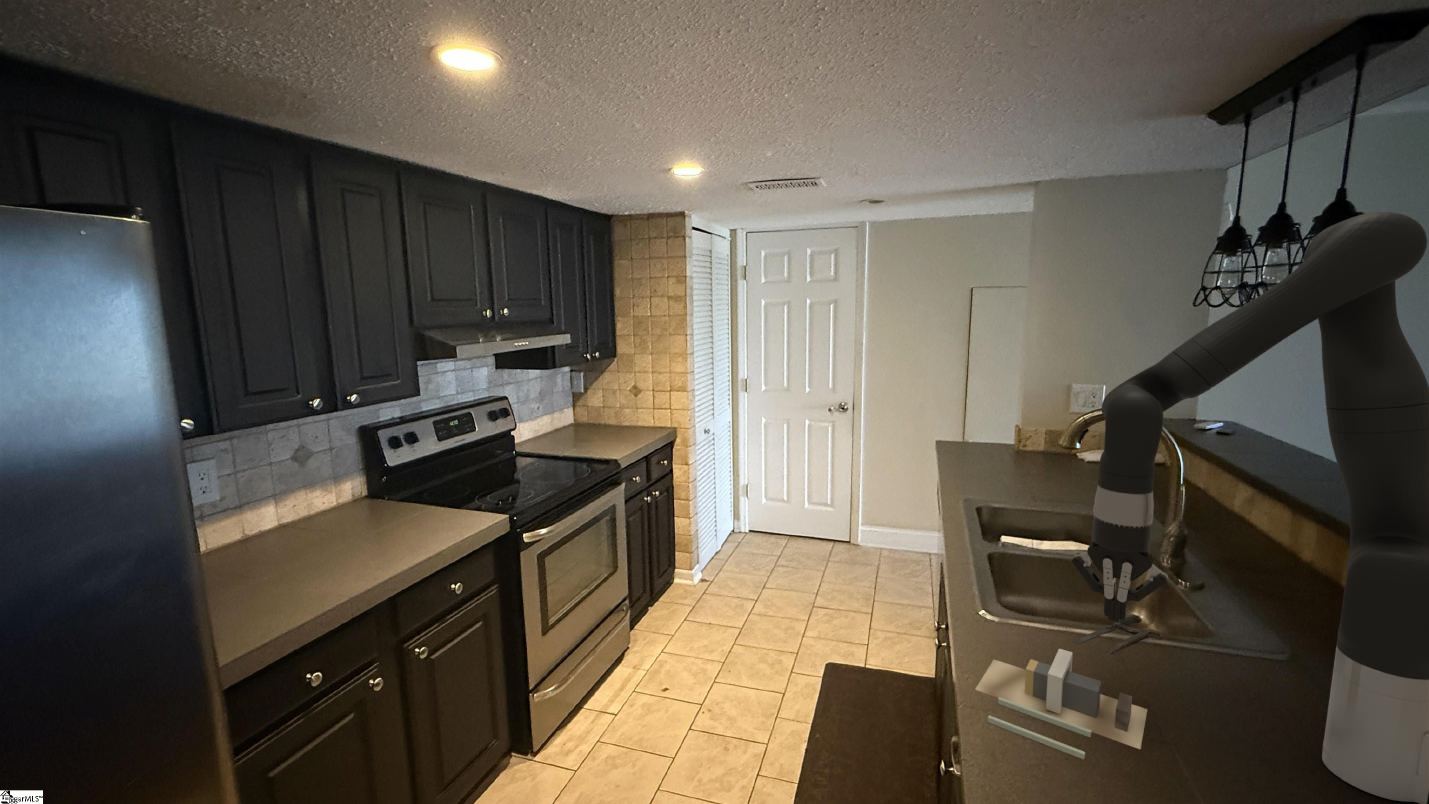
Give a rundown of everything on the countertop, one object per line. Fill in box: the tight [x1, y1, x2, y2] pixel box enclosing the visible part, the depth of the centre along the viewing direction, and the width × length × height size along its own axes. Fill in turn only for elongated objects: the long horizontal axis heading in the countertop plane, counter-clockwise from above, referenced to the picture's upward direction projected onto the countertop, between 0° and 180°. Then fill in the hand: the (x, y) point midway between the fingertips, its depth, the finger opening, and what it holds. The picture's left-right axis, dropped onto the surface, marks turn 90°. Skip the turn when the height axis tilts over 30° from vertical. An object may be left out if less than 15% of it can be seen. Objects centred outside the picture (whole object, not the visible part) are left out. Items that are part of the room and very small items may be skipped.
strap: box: [1046, 648, 1073, 714], centre depth 98 cm, size 2×9×6 cm, turn 140°
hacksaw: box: [1070, 614, 1163, 656], centre depth 114 cm, size 24×10×2 cm, turn 115°
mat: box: [987, 697, 1092, 760], centre depth 92 cm, size 13×6×1 cm, turn 50°
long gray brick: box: [1025, 659, 1102, 718], centre depth 98 cm, size 10×3×4 cm, turn 50°
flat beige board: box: [975, 659, 1148, 750], centre depth 98 cm, size 23×11×4 cm, turn 50°
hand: (1114, 619), depth 95 cm, fingers closed
